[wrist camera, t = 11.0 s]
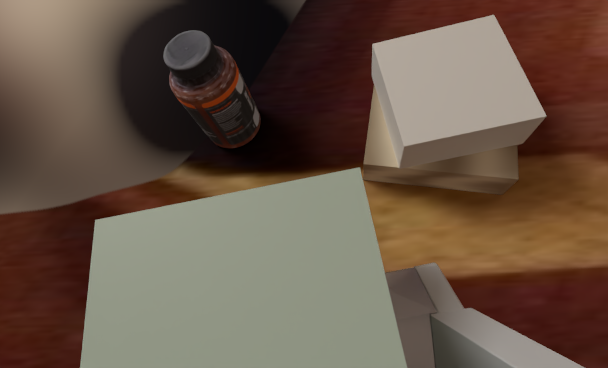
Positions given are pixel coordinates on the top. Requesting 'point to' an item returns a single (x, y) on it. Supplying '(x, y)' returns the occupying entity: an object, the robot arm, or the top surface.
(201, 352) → the sage block
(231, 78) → the supplement bottle
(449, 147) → the white top slab
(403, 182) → the maple base slab
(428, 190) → the top surface
